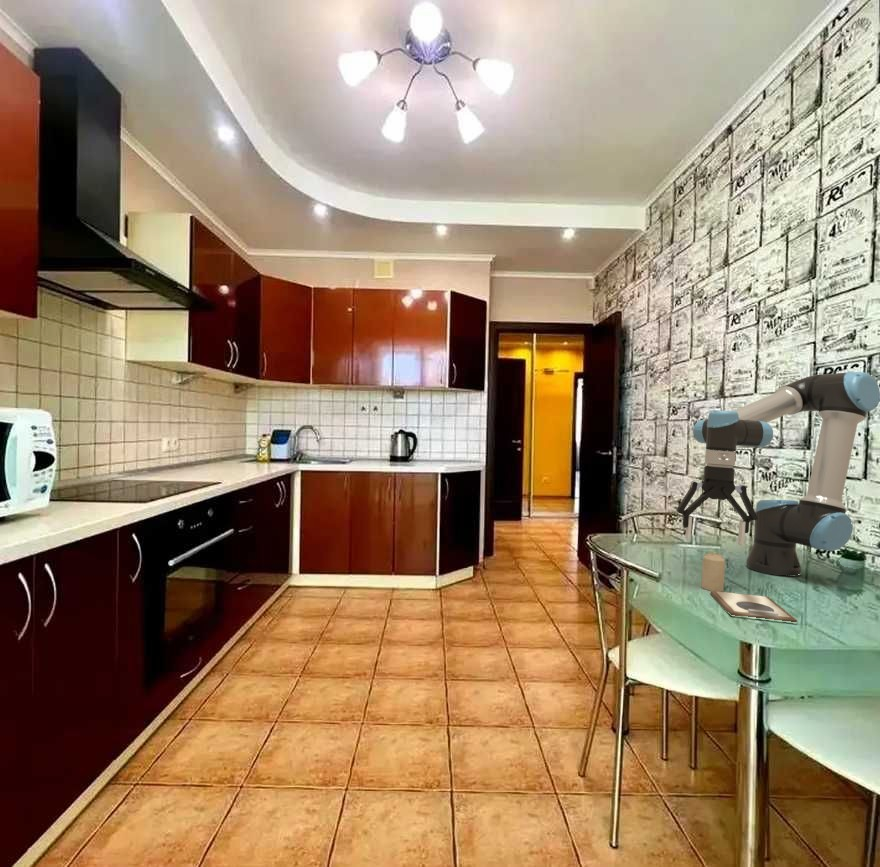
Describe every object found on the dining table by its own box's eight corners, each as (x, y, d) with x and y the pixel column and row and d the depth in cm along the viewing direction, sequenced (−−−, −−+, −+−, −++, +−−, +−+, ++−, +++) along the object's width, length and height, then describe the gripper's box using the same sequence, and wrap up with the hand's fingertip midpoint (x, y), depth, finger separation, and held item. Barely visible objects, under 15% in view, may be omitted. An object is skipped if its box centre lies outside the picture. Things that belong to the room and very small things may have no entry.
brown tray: (767, 600, 142) (768, 592, 142) (797, 624, 125) (797, 616, 125) (710, 594, 145) (710, 586, 145) (730, 617, 128) (731, 608, 128)
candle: (697, 585, 153) (699, 550, 153) (715, 585, 154) (717, 551, 153) (708, 591, 148) (710, 555, 148) (727, 592, 148) (729, 556, 148)
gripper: (674, 463, 149) (669, 539, 149) (774, 470, 144) (768, 549, 144) (669, 461, 156) (664, 534, 157) (764, 468, 151) (758, 544, 151)
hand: (714, 542), depth 150 cm, fingers open, 13 cm apart
